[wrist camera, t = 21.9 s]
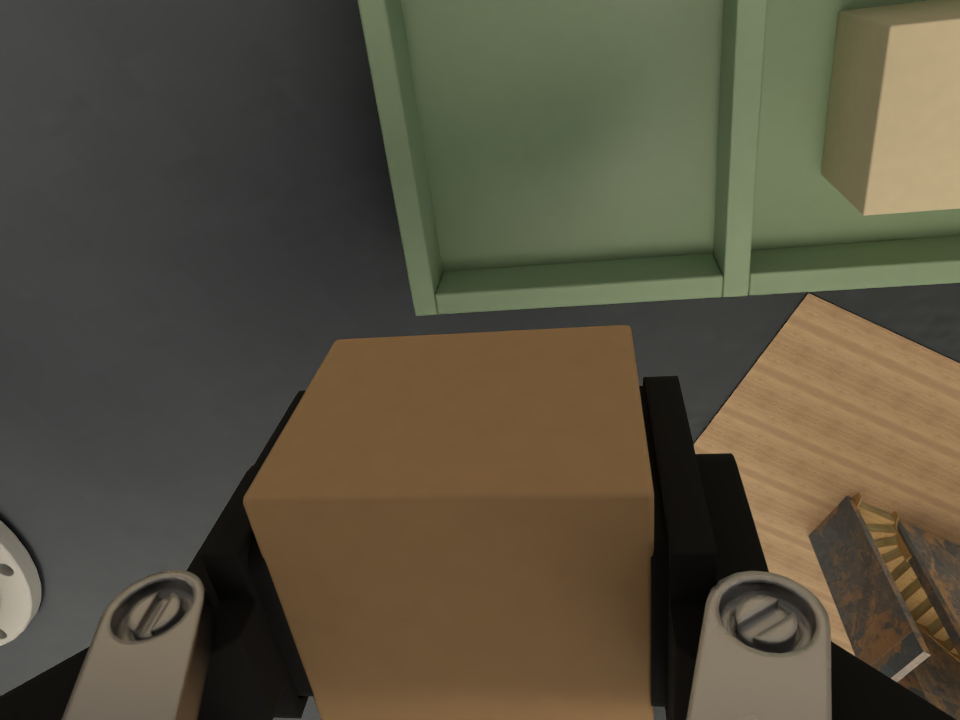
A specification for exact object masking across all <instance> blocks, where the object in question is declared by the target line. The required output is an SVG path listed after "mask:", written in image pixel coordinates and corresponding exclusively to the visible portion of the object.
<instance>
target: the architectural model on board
mask: <svg viewBox="0 0 960 720" xmlns="http://www.w3.org/2000/svg"><path fill="white" fill-rule="evenodd" d="M694 450H695V454H718V453H732V454H733V455H734V458H735V460H736V463H737V466H738V470H739V473H740V476H741V480H742V483H743V486H744V490H745V493H746V496H747V500H748V503H749V507H750V510H751V513H752V517H753V520H754V523H755V527H756V530H757V533H758V537H759V540H760V543H761V547H762V550H763V553H764V557H765V560H766V563H767V567H768V570H769V572H771V573H775V574H778V575H782V576H785V577H788V578H790V579H792V580H794V581H796V582H797V583H799V584H801V585H803V586H805V587H806V588H807V589H808V590H809V591H810V592H811V593H813V594H814V595H815V596H816V597H817V598H818V599H819V600H820V602H821V604H822V605H823V607H824V608H825V610H826V611H827V613H828V618H829V622H830V627H831V641H832V642H833V643H835V644H837V645H838V646H840V647H841V648H843V649H845V650H846V651H848V652H849V653H851V654H853V655H854V656H856V657H857V658H859V659H861V660H862V661H864V662H865V663H867V664H869V665H870V666H872V667H873V668H875V669H877V670H878V671H880V672H881V673H883V674H884V675H886V676H888V677H889V678H891V679H892V680H894V681H896V682H897V683H899V684H900V685H902V686H904V687H905V688H907V689H908V690H910V691H912V692H913V693H915V694H916V695H918V696H920V697H921V698H923V699H924V700H926V701H928V702H929V703H931V704H932V705H934V706H936V707H937V708H939V709H940V710H942V711H944V712H945V713H947V714H948V715H950V716H952V717H953V718H955V719H956V720H960V363H958V362H956V361H953V360H951V359H949V358H947V357H945V356H943V355H940V354H938V353H936V352H934V351H932V350H930V349H928V348H925V347H923V346H921V345H919V344H917V343H915V342H913V341H910V340H908V339H906V338H904V337H902V336H900V335H897V334H895V333H893V332H891V331H889V330H887V329H885V328H882V327H880V326H878V325H876V324H874V323H872V322H870V321H867V320H865V319H863V318H861V317H859V316H857V315H855V314H852V313H850V312H848V311H846V310H844V309H842V308H839V307H837V306H835V305H833V304H831V303H829V302H827V301H824V300H822V299H820V298H818V297H816V296H814V295H812V294H809V293H808V294H807V296H806V297H805V298H804V300H803V301H802V302H801V304H800V305H799V306H798V308H797V309H796V310H795V312H794V313H793V314H792V316H791V317H790V318H789V320H788V321H787V322H786V324H785V325H784V326H783V327H782V329H781V330H780V331H779V333H778V334H777V335H776V337H775V338H774V339H773V341H772V342H771V343H770V345H769V346H768V347H767V349H766V350H765V351H764V353H763V354H762V355H761V357H760V358H759V359H758V361H757V362H756V363H755V364H754V366H753V367H752V368H751V370H750V371H749V372H748V374H747V375H746V376H745V378H744V379H743V380H742V382H741V383H740V384H739V386H738V387H737V388H736V390H735V391H734V392H733V394H732V395H731V396H730V398H729V399H728V400H727V401H726V403H725V404H724V405H723V407H722V408H721V409H720V411H719V412H718V413H717V415H716V416H715V417H714V419H713V420H712V421H711V423H710V424H709V425H708V427H707V428H706V429H705V431H704V432H703V433H702V435H701V436H700V437H699V438H698V440H697V441H696V442H695V444H694Z"/></svg>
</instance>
